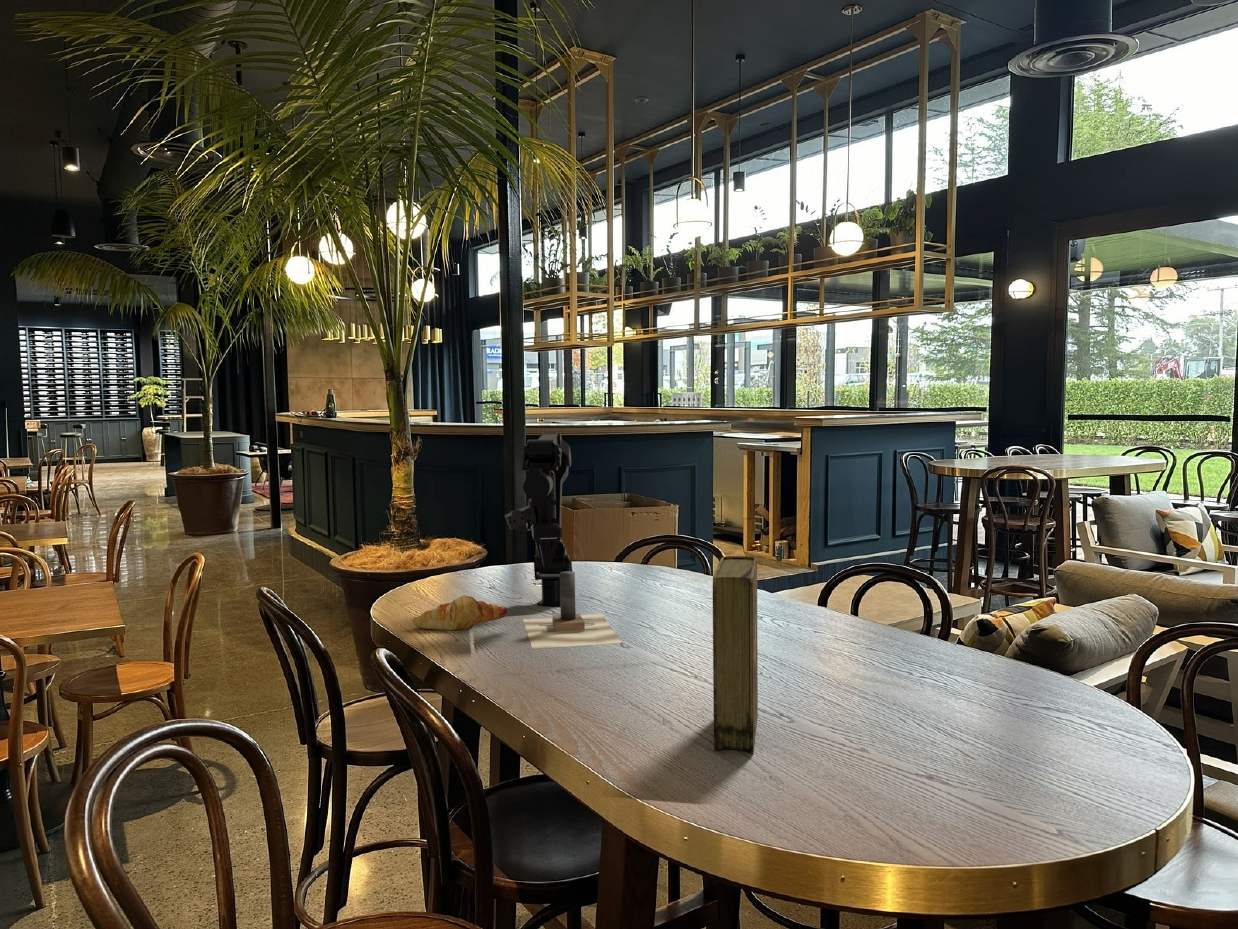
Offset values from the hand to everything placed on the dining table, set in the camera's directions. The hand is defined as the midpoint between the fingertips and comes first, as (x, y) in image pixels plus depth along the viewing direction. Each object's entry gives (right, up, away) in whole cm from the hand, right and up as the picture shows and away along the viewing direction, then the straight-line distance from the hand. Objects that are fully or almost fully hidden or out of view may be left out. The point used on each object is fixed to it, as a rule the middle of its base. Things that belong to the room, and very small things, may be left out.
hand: (544, 563), depth 190 cm
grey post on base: (+6, -13, -9) cm, 17 cm away
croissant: (-19, -14, -1) cm, 23 cm away
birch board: (+6, -14, -11) cm, 19 cm away
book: (+34, -18, -65) cm, 75 cm away
